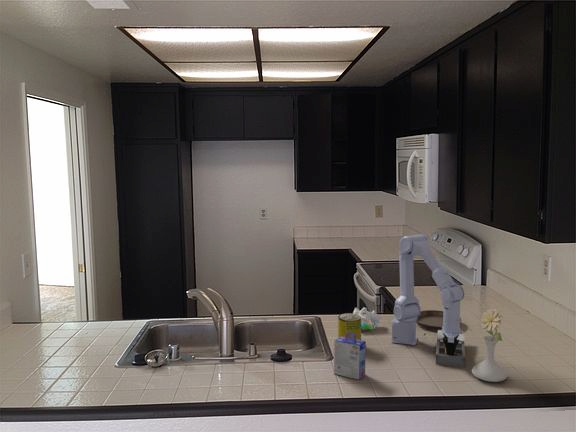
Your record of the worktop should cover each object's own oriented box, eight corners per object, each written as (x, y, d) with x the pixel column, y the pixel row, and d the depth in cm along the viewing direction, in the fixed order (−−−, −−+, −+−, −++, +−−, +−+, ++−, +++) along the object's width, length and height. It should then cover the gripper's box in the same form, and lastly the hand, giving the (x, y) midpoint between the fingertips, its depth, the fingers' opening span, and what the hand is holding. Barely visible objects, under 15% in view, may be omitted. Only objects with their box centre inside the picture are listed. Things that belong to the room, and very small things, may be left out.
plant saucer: (460, 335, 215) (460, 327, 214) (410, 329, 222) (410, 322, 221) (461, 319, 234) (462, 312, 233) (415, 315, 241) (415, 308, 240)
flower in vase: (467, 370, 180) (469, 301, 177) (499, 370, 180) (503, 301, 177) (479, 387, 167) (482, 313, 164) (515, 387, 167) (518, 313, 164)
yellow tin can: (365, 345, 204) (365, 316, 202) (352, 352, 197) (352, 322, 196) (347, 340, 210) (347, 311, 208) (333, 346, 203) (333, 317, 202)
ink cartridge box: (366, 374, 178) (366, 334, 176) (359, 380, 173) (360, 339, 172) (340, 368, 183) (340, 329, 181) (333, 374, 179) (333, 334, 177)
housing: (435, 364, 186) (435, 354, 185) (437, 345, 203) (437, 337, 202) (464, 367, 183) (465, 358, 182) (463, 348, 200) (464, 339, 199)
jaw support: (345, 323, 220) (350, 304, 225) (349, 333, 226) (354, 314, 232) (372, 328, 215) (377, 308, 220) (375, 338, 221) (380, 318, 227)
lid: (437, 339, 199) (437, 334, 199) (437, 331, 208) (438, 326, 208) (464, 342, 196) (464, 336, 196) (463, 333, 205) (464, 328, 205)
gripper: (463, 326, 178) (462, 363, 180) (462, 313, 192) (461, 348, 193) (442, 324, 180) (441, 361, 182) (443, 311, 194) (442, 346, 196)
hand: (450, 354), depth 188 cm, fingers closed on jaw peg, 4 cm apart
